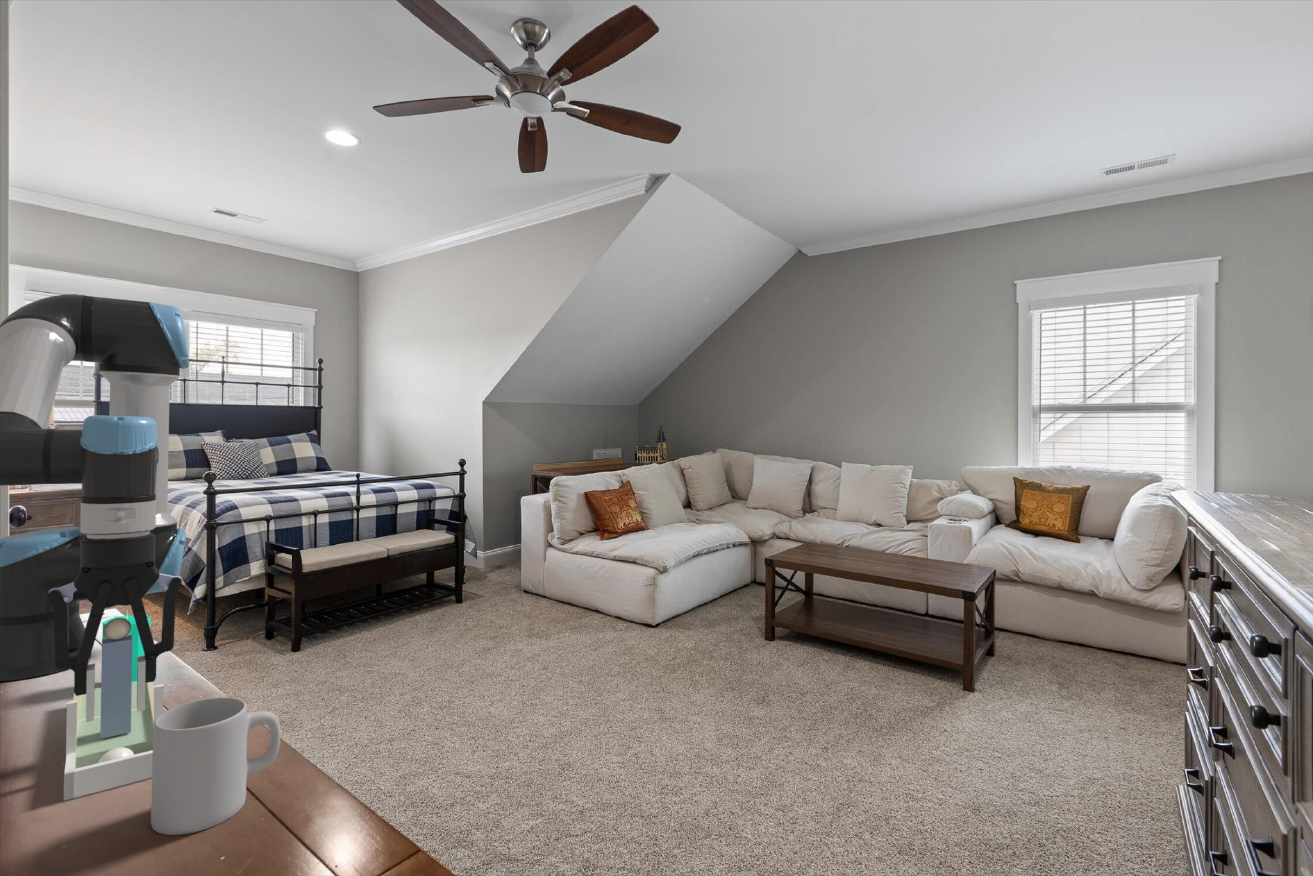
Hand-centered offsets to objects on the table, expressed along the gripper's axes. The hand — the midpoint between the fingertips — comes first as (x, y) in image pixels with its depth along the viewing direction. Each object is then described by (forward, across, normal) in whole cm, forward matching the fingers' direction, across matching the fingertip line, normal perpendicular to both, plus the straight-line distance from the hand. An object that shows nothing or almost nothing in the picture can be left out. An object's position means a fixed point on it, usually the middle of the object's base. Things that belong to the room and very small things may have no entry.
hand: (115, 712), depth 83 cm
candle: (+5, +2, +26) cm, 27 cm away
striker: (+2, 0, 0) cm, 2 cm away
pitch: (+5, 0, +8) cm, 9 cm away
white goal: (+5, 0, -8) cm, 10 cm away
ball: (+3, 0, -9) cm, 9 cm away
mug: (+5, +9, -23) cm, 25 cm away
